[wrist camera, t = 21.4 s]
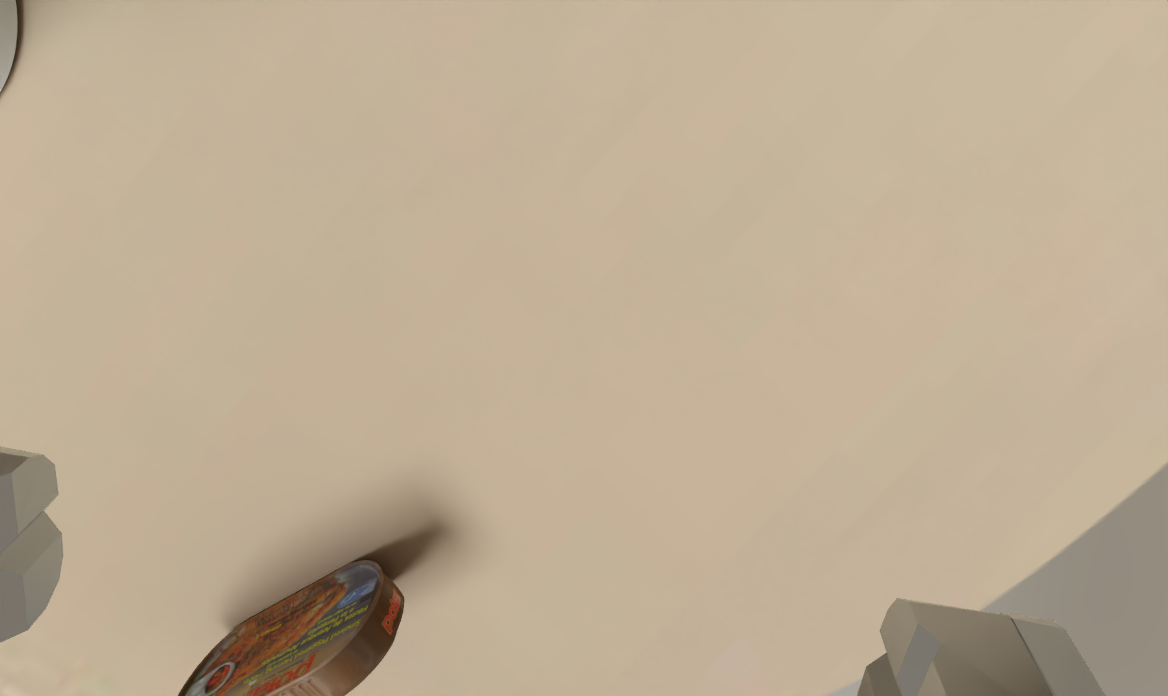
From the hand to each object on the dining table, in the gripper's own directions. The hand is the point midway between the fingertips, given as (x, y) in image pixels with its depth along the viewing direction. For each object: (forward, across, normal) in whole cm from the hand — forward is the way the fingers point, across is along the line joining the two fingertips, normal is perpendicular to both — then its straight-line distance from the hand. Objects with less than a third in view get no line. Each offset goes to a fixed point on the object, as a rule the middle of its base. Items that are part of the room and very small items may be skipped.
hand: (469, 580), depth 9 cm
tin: (+37, +12, +34) cm, 52 cm away
